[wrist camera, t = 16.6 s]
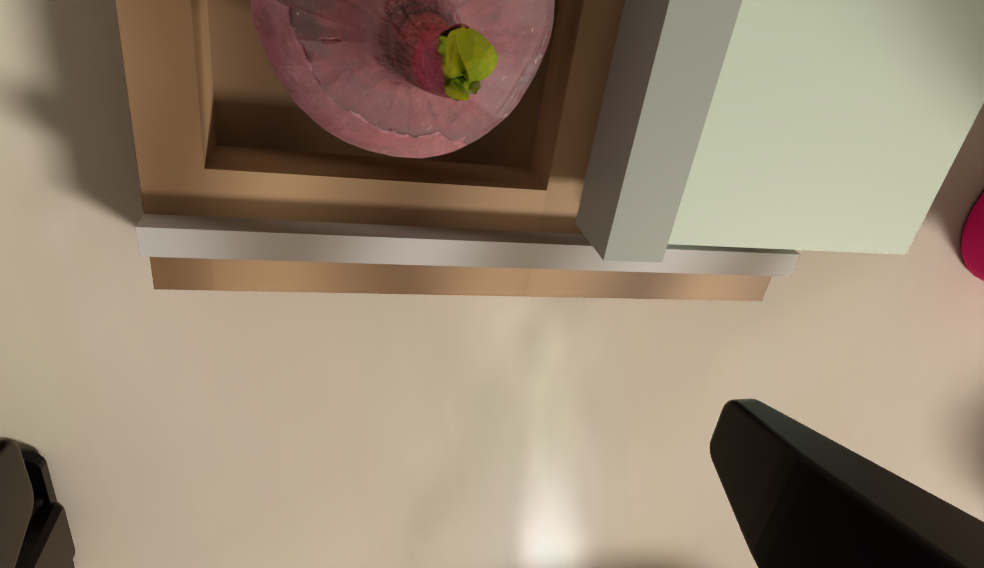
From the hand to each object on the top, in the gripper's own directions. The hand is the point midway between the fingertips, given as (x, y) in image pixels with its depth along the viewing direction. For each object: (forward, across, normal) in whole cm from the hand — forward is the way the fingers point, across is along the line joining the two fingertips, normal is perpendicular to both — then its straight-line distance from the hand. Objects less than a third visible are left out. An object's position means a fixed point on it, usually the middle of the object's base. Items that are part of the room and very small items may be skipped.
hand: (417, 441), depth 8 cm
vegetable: (+12, 0, -4) cm, 13 cm away
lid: (+9, -11, -4) cm, 15 cm away
